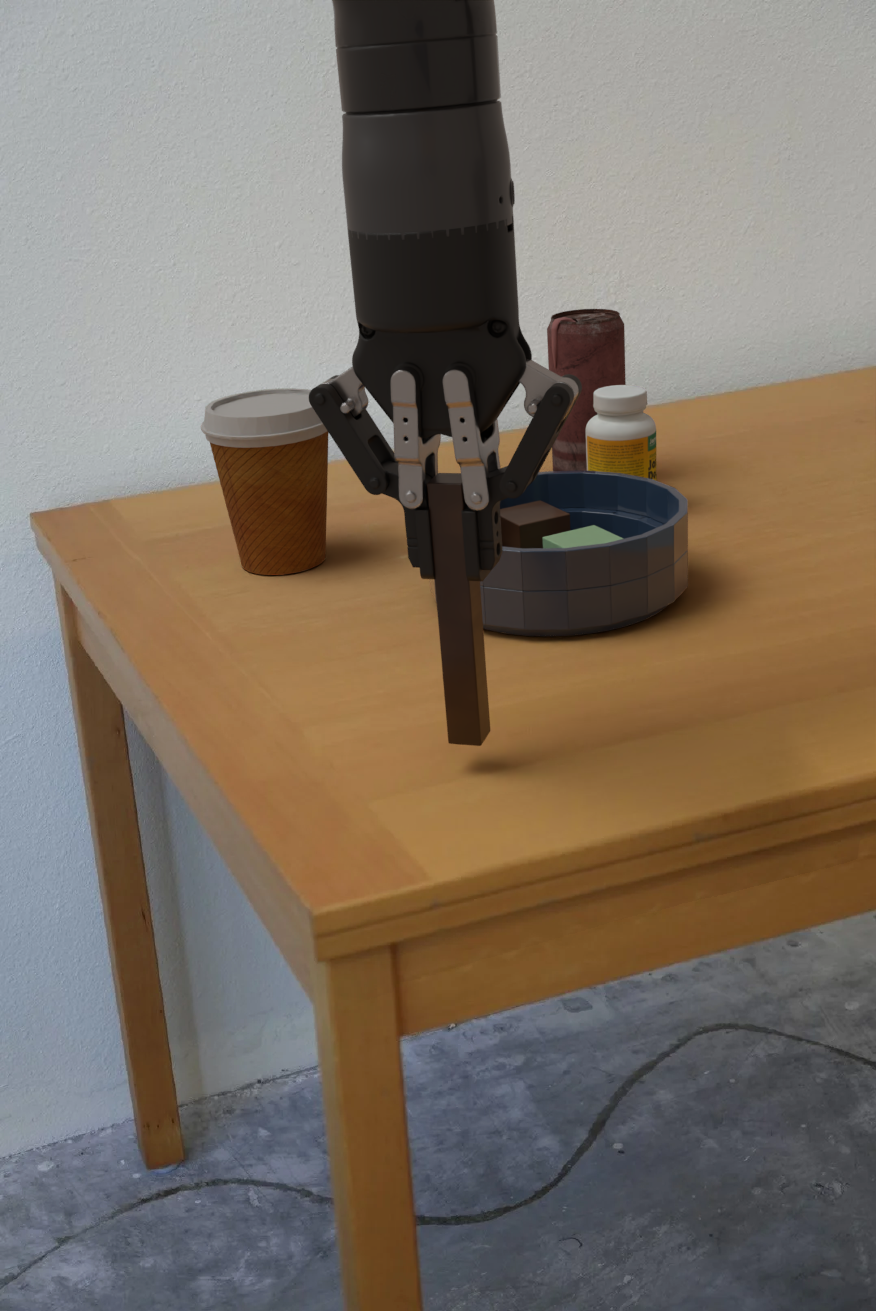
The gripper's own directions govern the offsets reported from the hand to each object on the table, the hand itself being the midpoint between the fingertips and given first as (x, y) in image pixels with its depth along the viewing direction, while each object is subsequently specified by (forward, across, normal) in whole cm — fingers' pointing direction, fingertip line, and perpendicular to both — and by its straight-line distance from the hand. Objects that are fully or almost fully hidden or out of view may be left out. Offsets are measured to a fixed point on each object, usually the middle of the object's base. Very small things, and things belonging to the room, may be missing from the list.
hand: (457, 573), depth 73 cm
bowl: (+11, -2, +26) cm, 28 cm away
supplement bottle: (+11, -1, +43) cm, 44 cm away
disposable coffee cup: (+11, -24, +29) cm, 39 cm away
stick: (+9, 0, 0) cm, 9 cm away
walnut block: (+10, -4, +28) cm, 30 cm away
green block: (+10, +1, +23) cm, 25 cm away
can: (+11, -5, +50) cm, 52 cm away
